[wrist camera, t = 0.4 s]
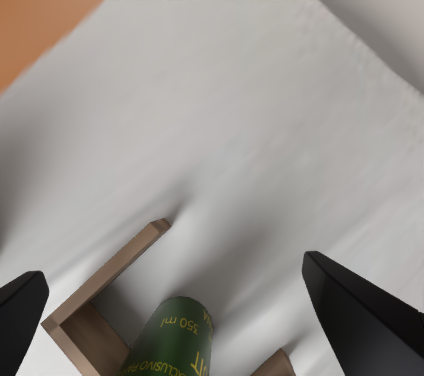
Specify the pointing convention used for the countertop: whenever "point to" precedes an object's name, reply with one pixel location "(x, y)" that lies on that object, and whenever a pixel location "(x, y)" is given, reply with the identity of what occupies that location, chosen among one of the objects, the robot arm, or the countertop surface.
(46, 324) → the wooden u-shaped frame
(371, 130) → the countertop surface
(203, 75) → the countertop surface
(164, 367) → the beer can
